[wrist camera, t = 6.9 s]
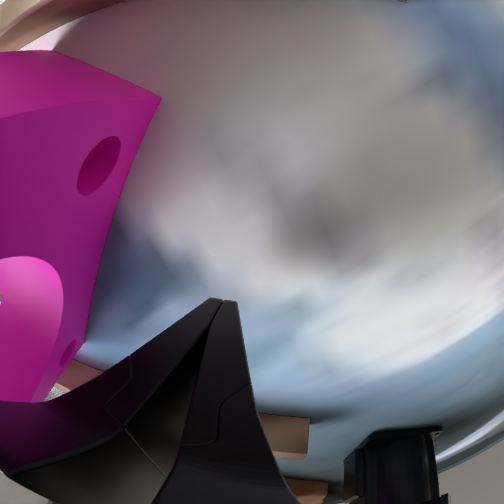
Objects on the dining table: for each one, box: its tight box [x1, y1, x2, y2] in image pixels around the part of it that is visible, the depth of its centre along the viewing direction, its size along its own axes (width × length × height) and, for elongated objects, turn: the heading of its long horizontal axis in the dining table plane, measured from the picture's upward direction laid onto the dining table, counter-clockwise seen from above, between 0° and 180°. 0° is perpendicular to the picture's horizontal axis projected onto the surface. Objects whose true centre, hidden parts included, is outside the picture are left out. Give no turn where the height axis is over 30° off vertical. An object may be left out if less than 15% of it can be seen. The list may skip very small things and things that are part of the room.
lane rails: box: [0, 0, 409, 460], centre depth 10 cm, size 24×23×3 cm
